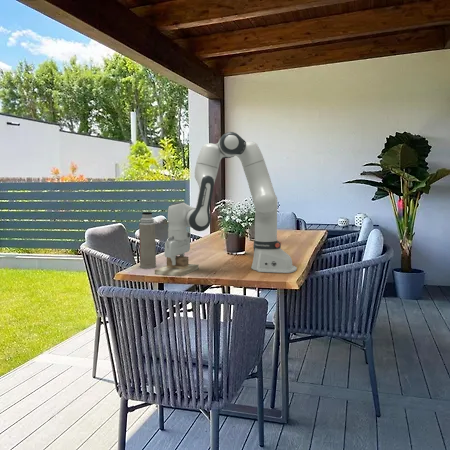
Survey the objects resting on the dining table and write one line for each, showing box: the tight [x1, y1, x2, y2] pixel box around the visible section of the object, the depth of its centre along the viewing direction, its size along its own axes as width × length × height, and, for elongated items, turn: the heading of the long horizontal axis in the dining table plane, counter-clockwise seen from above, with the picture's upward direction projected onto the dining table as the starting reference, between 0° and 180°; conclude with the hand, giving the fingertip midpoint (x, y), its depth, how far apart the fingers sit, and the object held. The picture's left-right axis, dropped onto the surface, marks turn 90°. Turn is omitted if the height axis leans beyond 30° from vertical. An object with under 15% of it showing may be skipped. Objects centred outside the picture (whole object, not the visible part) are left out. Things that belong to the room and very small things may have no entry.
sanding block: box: [166, 255, 189, 269], centre depth 219 cm, size 9×6×5 cm, turn 69°
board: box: [154, 263, 200, 277], centre depth 219 cm, size 14×19×2 cm
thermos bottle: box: [138, 211, 157, 269], centre depth 229 cm, size 8×8×28 cm
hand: (177, 263), depth 219 cm, fingers closed on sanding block, 5 cm apart
